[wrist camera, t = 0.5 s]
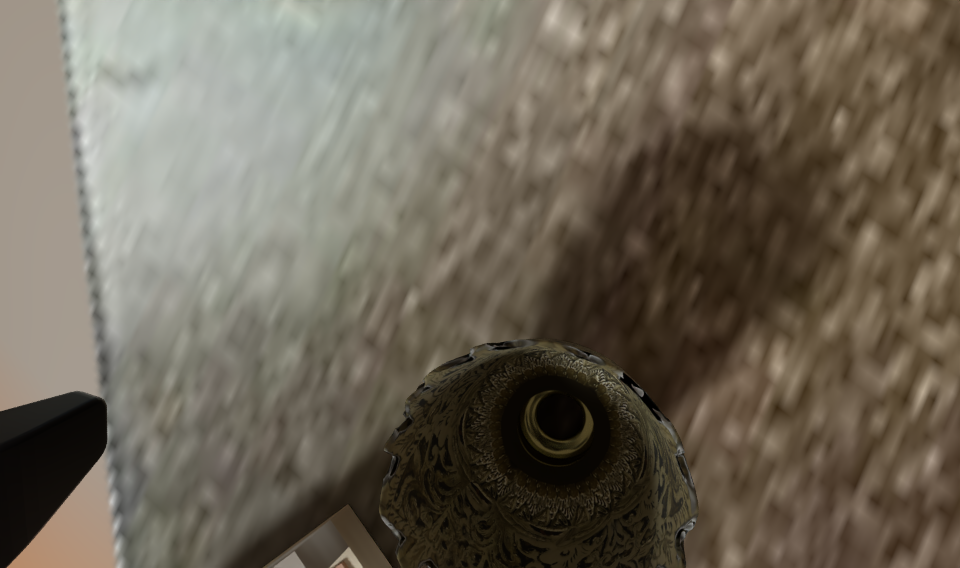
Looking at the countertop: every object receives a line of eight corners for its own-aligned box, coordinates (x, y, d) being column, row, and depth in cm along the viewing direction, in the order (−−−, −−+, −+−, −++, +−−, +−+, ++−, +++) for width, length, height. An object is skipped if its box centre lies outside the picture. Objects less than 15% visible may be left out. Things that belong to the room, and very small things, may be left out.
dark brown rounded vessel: (422, 401, 23) (319, 473, 15) (565, 270, 21) (534, 274, 14) (554, 558, 22) (518, 721, 14) (714, 431, 20) (772, 534, 13)
